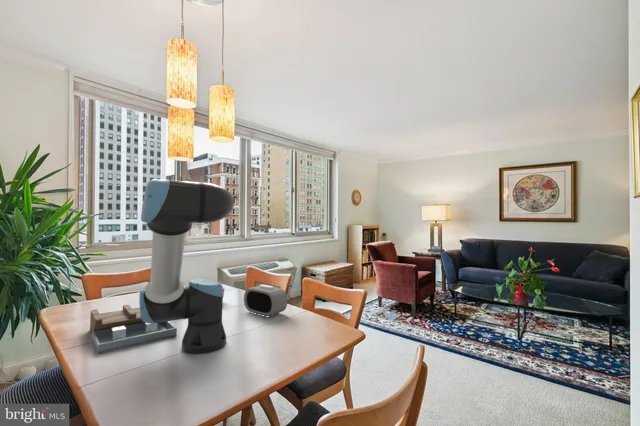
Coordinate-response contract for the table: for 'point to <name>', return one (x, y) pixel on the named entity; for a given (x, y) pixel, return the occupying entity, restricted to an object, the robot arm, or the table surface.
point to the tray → (131, 336)
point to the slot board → (114, 318)
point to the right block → (150, 327)
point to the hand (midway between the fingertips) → (163, 278)
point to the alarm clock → (265, 300)
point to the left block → (118, 333)
